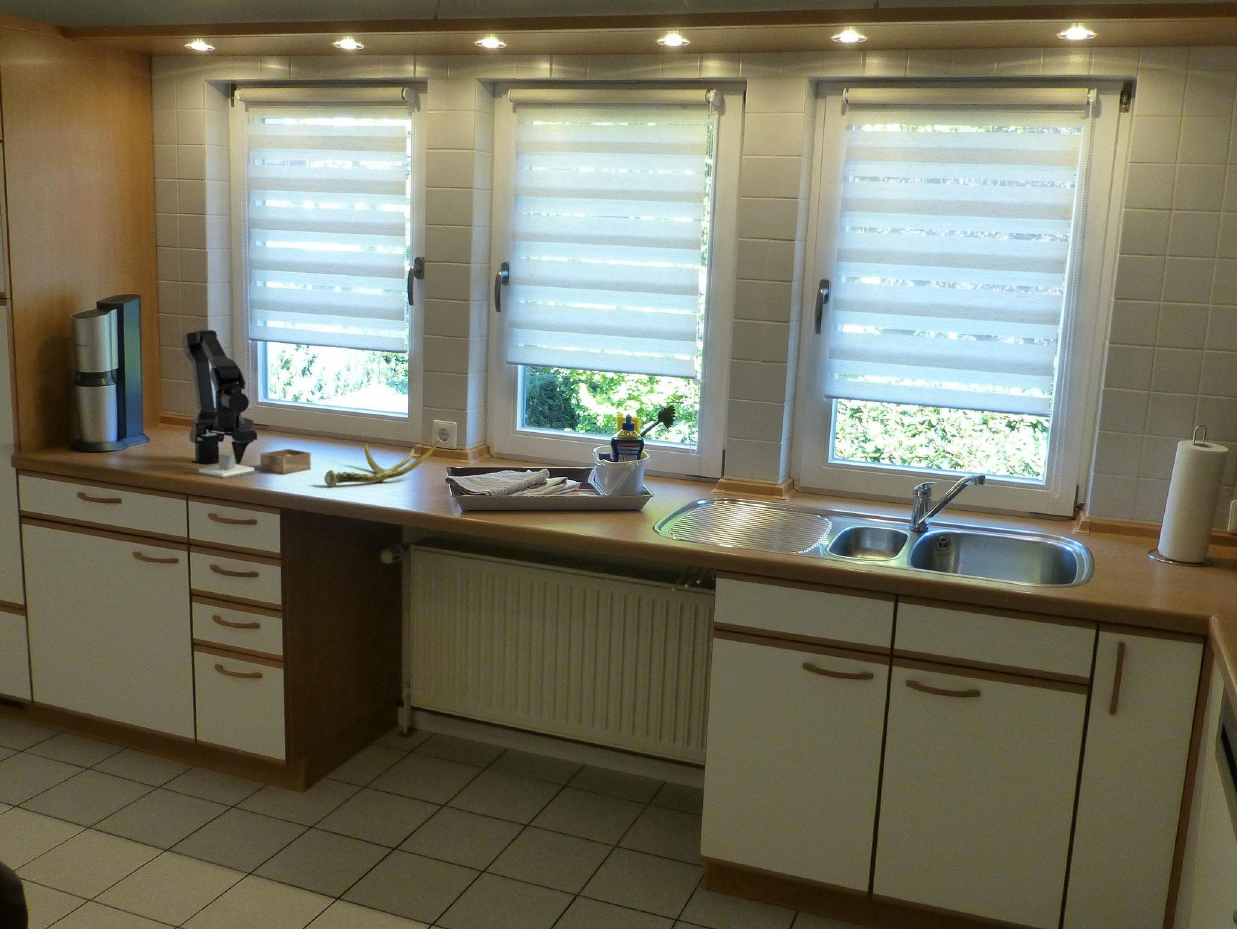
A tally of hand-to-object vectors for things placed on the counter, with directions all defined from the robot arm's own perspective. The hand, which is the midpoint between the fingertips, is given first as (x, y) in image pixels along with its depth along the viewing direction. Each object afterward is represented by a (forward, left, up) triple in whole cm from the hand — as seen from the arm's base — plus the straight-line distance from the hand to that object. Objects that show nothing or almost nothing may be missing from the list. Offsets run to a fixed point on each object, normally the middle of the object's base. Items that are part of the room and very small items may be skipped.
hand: (226, 461), depth 314 cm
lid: (0, 0, -3) cm, 3 cm away
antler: (+40, +23, -4) cm, 46 cm away
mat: (0, 0, -3) cm, 3 cm away
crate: (+9, +14, -3) cm, 17 cm away
